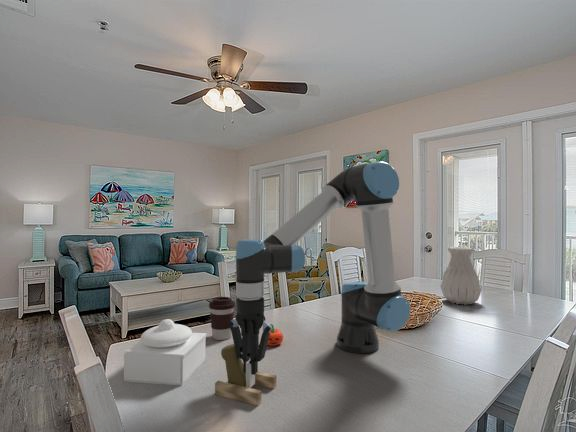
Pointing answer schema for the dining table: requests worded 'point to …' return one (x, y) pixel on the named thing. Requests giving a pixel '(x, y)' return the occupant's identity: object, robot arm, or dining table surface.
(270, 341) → the pumpkin
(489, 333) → the dining table surface
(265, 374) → the pair of wooden strips
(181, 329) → the butter dish
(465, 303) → the vase
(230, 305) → the coffee cup
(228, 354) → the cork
